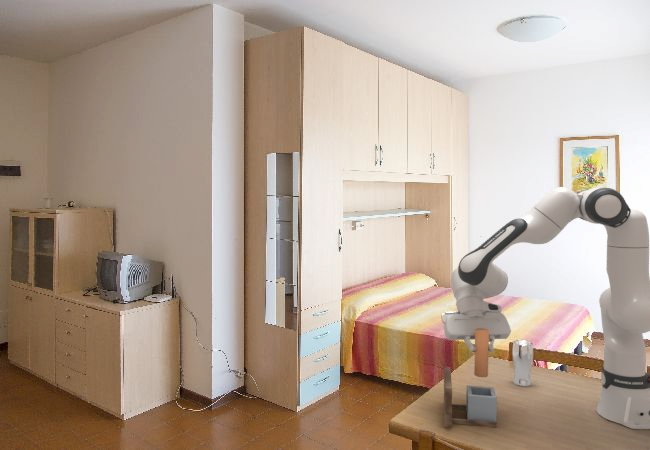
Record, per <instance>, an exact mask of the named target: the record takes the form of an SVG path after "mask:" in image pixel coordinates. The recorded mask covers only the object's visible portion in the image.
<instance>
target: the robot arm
mask: <svg viewBox="0 0 650 450" xmlns="http://www.w3.org/2000/svg"><path fill="white" fill-rule="evenodd" d="M578 218H579V219H580V220H583V221H585V222H588V223H591V224H596V225H597V224H599V225H603V226H604V228H605V230H606V235H607V237H606V274H607V276H608V281H609V287H608V288H606V289H605V290H603V291H602V293H600V296H599V301H598V302H599V308H600V314H601V317H600V318H601V326H602V327H601V328H602V334H603V344H604V348H603V366H602V368H601V376H600V377H601V378H600V382H601V392H600V398H599V400H598V405H597V407H596V413H597V414H598V415H599V416H601V417H602V418H604V419H606V420H609V421H612V422H614V423H618V424H620V425H623V426H625V427H627V428H630V429H632V430H650V374H649V373H648V372H647V371H646V368H647V367H646V366H647V365H646V361H647V347H646V343H645V341H644V336H643V334H646V333H649V332H650V232H649V225H648V220H647V217H646V215H645V214H644V213H643V212H642V211H640V210H637V209H633V208H630V207H629V205H628V203H627V201H626V200H625V198H624V197H623V195H622V194H621V193H620V192H619V191H617V190H616V189H614V188H610V187H602V186H597V187H596V186H595V187H591V188H587V189H583V190H580V191H578V192H575V191H574V190H572V189H570V188H569V187H564V186H558V187H555V188H553V190H551V191H550V192H548V193H547V194H545V196H543V197H542V198H541V199H540V200H539V201H537V203H535V204H534V206H533V207H531V209H530V210H529V211H528V212H526V213H525V214H524V215H521V217H517V218H514V219H512V220H511V221H509V222H507V223H506V224H505V225H504V226H502V227H501V228H499V229H498V230H497V231H496V232H495V233H493V234H492V235H491V236H490V237H489V238H487V240H485V241H484V242H482V244H481V245H479V246H478V247H477V248H475V249H474V250H472V251H469V252H468V253H467V254H465V255H464V256H463V257H462V258H461V259H460V261H459V263H458V266H457V267H456V268H455V269H454V270H453V271H452V273H451V277H450V278H451V280H450V281H451V289H452V293H453V297H454V298H455V301H456V303H455V306H456V309H457V311H444V312H443V313H442V314H441V321H442V323H443V328H444V329H443V330H444V336H445V338H446V339H447V340H449V341H454V340H455V341H459V340H460V341H462V340H463V342H464V344H465V345H466V346H467V347H468V348H469V351H470V353H475V352H476V350H477V349H476V345H475V343H472V341H471V340H475V329H478V328H482V329H487V330H489V351H488V353H490V352H491V353H492V352H494V350H495V346H494V343H495V340H506V339H508V338H509V337H510V335H511V332H512V330H511V326H510V324H509V322H508V318H507V317H506V315H505V314H504V313H502V306H501V305H499V304H496V303H491V302H488V301H486V300H484V299H489V298H490V299H491V298H493V297H496V296H498V295H501V294H502V293H503V292H504V291H505V290H506V289H507V286H508V283H509V277H508V275H507V273H506V271H504V270H503V269H502V268H501V267H499V266H498V265H496V264H494V263H493V262H494V261H495V260H496V259H497V258H498V257H499V256H500V255H502V254H503V253H504V252H506V251H507V250H508V249H509V248H511V247H512V246H513V245H515V244H520V243H525V244H526V243H527V244H531V245H545V244H548V243H549V242H551V241H552V240H554V239H555V238H556V237H557V236H558V235H559V234H560V233H561V232H562V231H563V230H564V229H565V228H566V227H567V226H568V224H570V223H571V222H573V221H574V220H575V219H578Z"/></svg>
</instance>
